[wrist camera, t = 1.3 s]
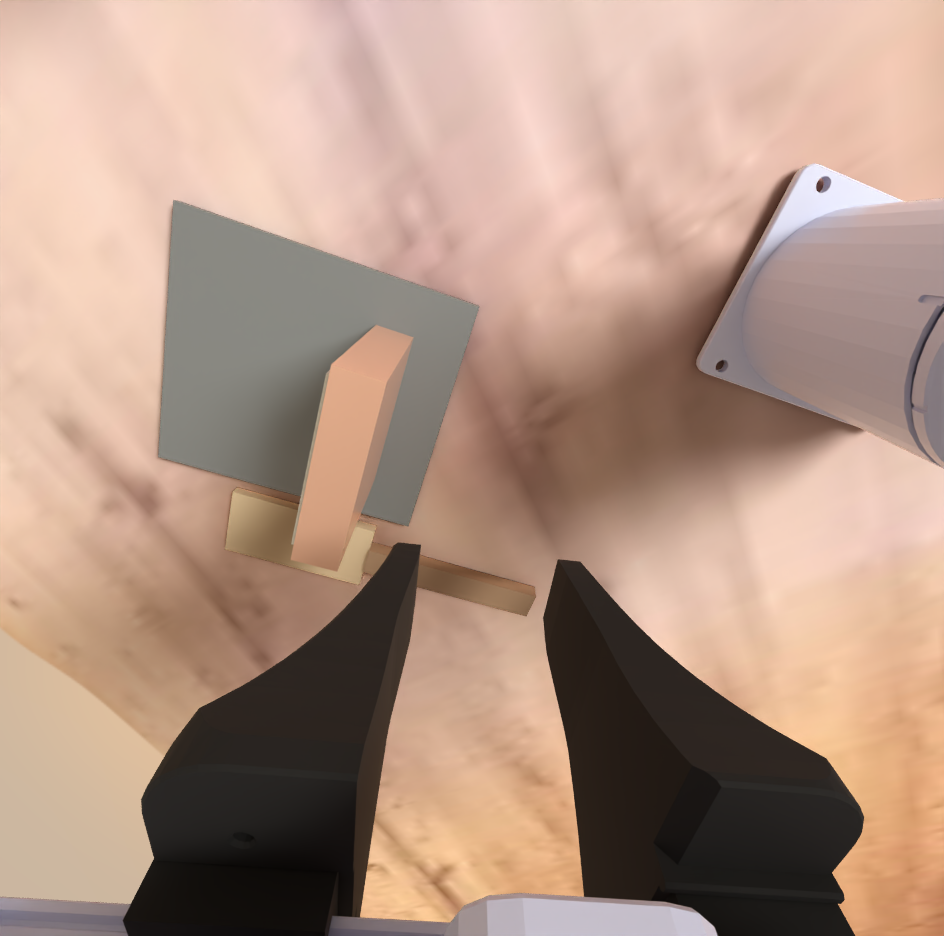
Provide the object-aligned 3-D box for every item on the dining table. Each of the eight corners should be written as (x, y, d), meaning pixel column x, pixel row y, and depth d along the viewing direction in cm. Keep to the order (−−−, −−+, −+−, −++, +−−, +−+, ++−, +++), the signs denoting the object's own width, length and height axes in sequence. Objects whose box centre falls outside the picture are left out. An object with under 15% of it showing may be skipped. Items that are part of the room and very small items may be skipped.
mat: (479, 305, 20) (479, 306, 19) (409, 522, 24) (408, 526, 24) (179, 201, 18) (173, 200, 18) (163, 453, 23) (158, 457, 22)
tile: (413, 337, 20) (386, 382, 14) (374, 479, 23) (337, 571, 16) (372, 323, 20) (326, 362, 13) (338, 469, 23) (286, 558, 16)
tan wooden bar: (541, 571, 26) (543, 581, 25) (518, 619, 27) (519, 630, 26) (238, 486, 24) (230, 493, 23) (230, 542, 25) (222, 551, 24)
